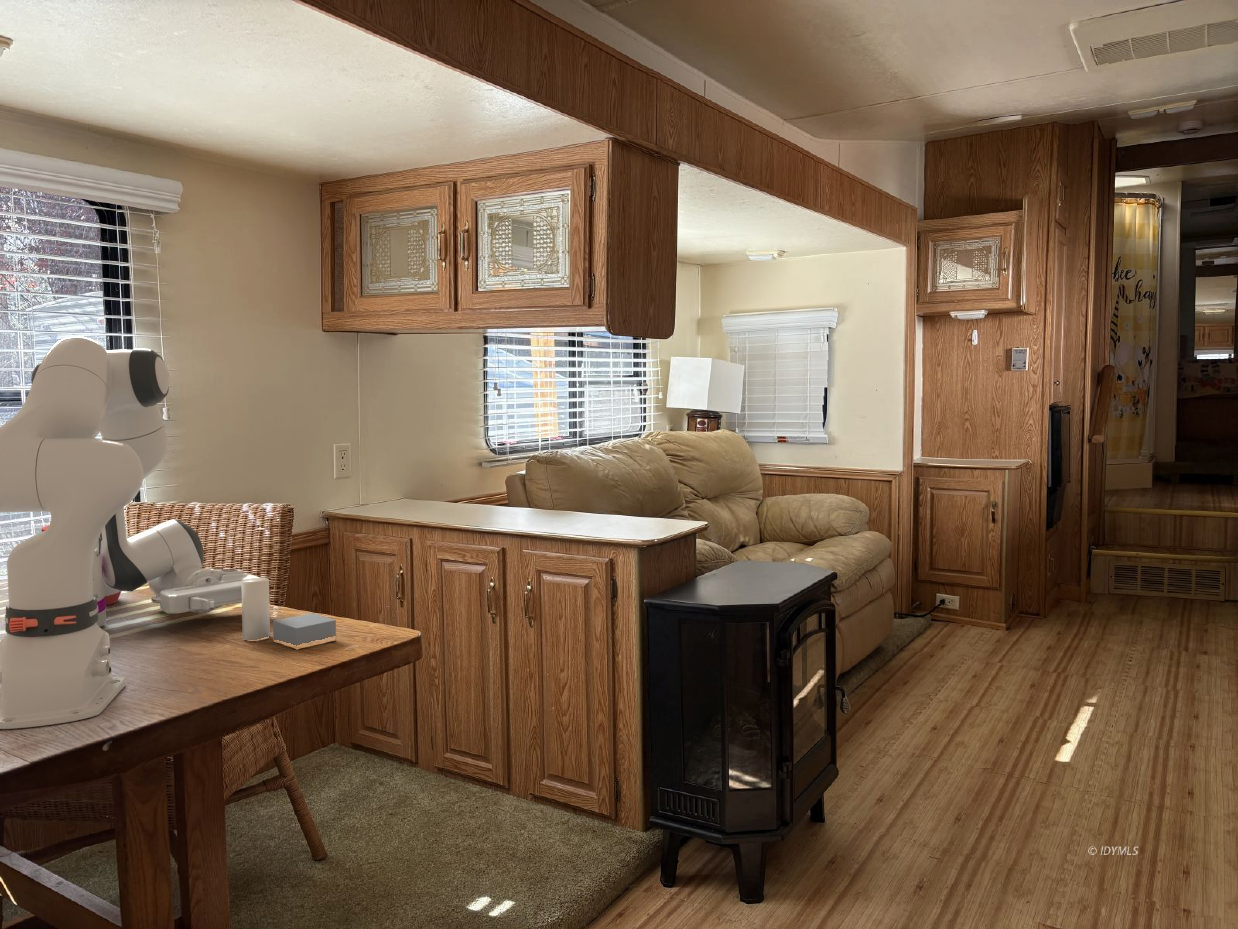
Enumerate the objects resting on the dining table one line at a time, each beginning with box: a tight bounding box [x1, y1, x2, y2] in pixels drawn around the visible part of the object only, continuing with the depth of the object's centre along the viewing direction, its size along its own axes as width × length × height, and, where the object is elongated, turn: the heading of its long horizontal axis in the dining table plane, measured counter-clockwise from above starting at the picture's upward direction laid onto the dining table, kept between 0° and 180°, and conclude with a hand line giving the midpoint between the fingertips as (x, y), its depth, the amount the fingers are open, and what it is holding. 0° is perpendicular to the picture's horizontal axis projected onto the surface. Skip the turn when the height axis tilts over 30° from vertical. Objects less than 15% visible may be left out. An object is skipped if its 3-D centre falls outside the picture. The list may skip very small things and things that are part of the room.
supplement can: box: [93, 548, 108, 628], centre depth 179 cm, size 8×8×15 cm
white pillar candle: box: [241, 577, 271, 640], centre depth 175 cm, size 5×5×11 cm
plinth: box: [272, 612, 337, 646], centre depth 173 cm, size 8×8×4 cm
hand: (234, 600), depth 180 cm, fingers open, 8 cm apart
